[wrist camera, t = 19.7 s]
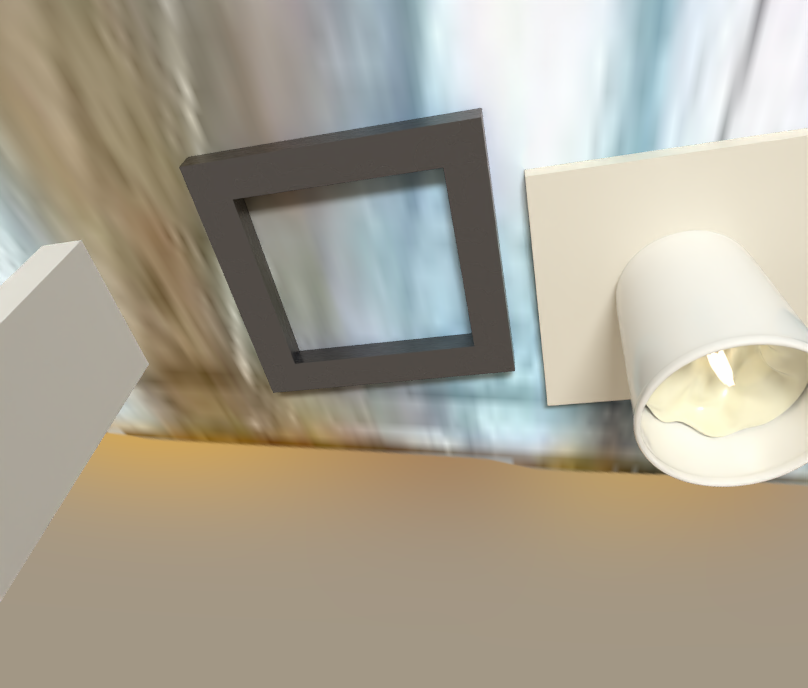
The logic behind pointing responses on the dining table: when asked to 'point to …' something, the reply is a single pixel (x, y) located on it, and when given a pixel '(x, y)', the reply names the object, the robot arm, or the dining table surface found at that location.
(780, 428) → the candle holder
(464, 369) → the dark grey square frame
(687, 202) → the cream tile
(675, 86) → the dining table surface
